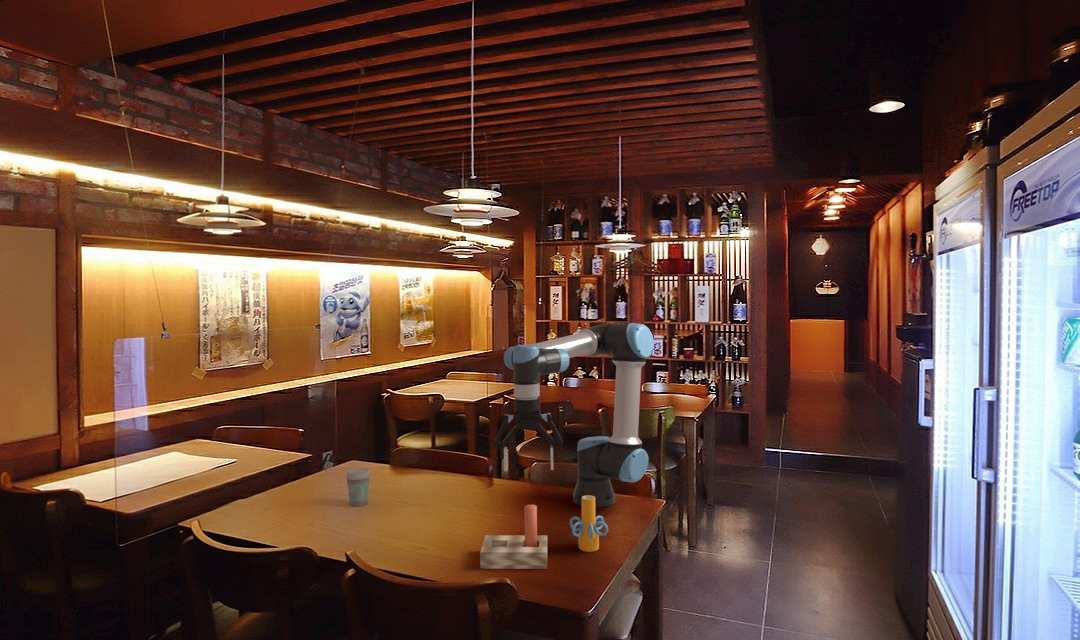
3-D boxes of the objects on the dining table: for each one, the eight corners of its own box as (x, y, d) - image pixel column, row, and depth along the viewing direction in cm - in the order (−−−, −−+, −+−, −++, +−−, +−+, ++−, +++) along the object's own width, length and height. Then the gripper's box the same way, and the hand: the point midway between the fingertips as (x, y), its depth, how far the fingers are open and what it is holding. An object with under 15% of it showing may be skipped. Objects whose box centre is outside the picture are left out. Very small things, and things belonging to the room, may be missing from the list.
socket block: (547, 550, 177) (547, 535, 176) (546, 568, 165) (546, 552, 164) (485, 550, 177) (485, 535, 177) (480, 568, 165) (480, 552, 165)
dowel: (537, 553, 172) (536, 504, 172) (537, 558, 169) (536, 508, 169) (525, 553, 172) (524, 504, 172) (524, 558, 169) (524, 508, 169)
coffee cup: (341, 506, 217) (340, 473, 217) (356, 499, 225) (356, 467, 225) (360, 509, 214) (360, 475, 214) (375, 501, 222) (375, 469, 222)
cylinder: (568, 540, 184) (567, 491, 183) (602, 539, 185) (601, 490, 184) (573, 557, 172) (573, 505, 171) (610, 556, 173) (609, 503, 172)
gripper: (569, 394, 182) (570, 464, 183) (485, 396, 182) (487, 466, 183) (570, 398, 174) (572, 471, 175) (483, 401, 174) (485, 474, 175)
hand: (529, 469), depth 179 cm, fingers open, 13 cm apart
